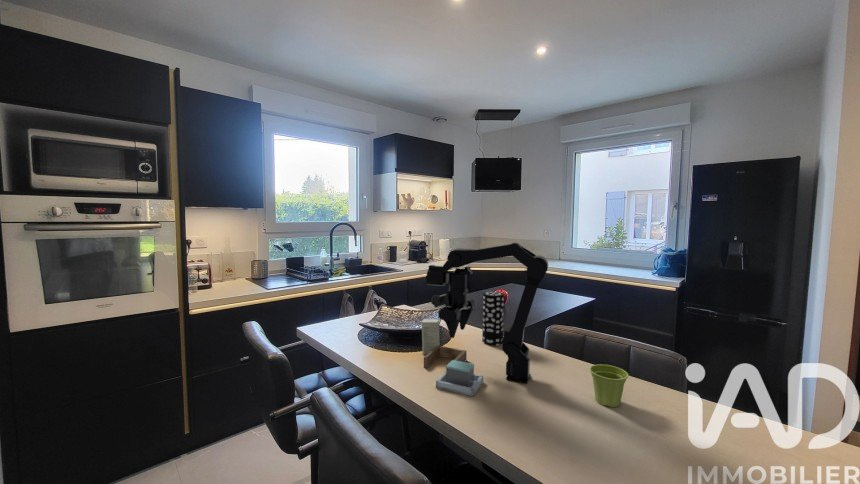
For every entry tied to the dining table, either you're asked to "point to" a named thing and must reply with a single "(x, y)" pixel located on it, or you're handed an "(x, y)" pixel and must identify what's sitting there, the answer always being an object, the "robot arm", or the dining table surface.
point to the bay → (444, 355)
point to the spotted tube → (493, 318)
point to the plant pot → (608, 384)
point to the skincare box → (430, 335)
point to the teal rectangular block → (460, 373)
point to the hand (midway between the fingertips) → (457, 333)
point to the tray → (460, 389)
